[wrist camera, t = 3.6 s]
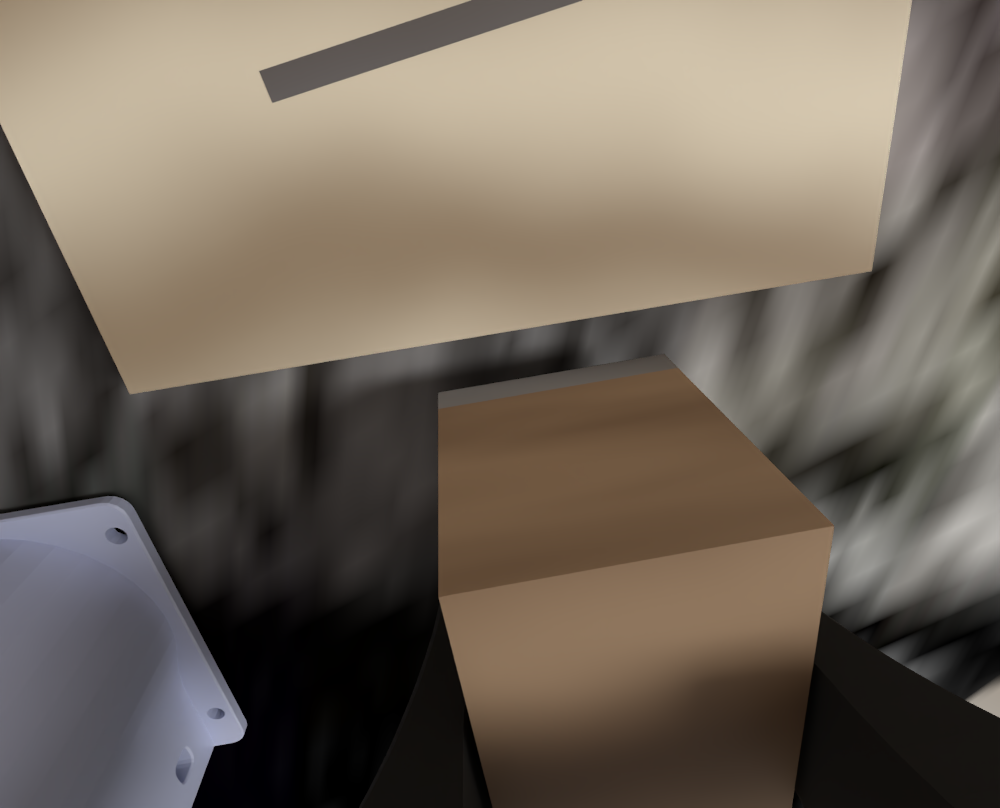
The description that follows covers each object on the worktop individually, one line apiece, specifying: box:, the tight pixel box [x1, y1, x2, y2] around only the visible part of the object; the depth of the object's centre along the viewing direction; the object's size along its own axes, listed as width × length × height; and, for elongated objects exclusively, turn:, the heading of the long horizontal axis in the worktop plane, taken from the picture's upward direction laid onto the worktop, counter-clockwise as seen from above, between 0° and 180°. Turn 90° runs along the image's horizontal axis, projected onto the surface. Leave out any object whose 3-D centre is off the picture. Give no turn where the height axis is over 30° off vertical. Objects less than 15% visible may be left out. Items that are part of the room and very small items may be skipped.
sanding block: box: [438, 354, 834, 808], centre depth 12 cm, size 9×5×6 cm, turn 8°
